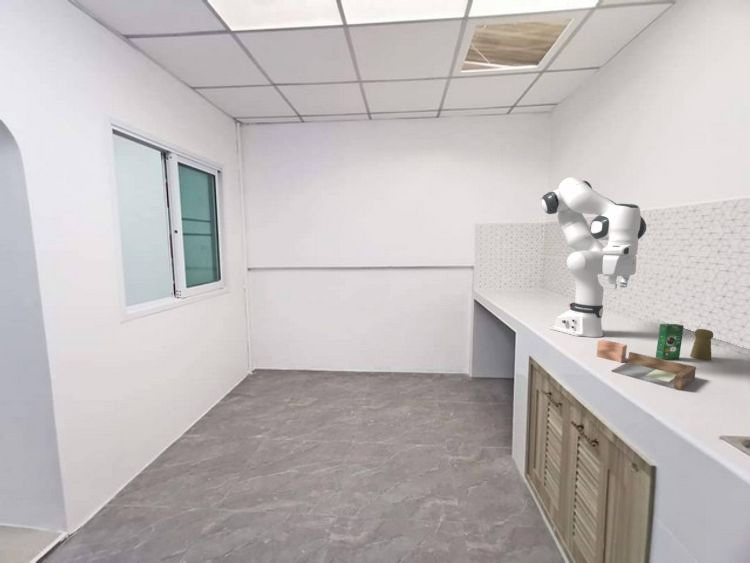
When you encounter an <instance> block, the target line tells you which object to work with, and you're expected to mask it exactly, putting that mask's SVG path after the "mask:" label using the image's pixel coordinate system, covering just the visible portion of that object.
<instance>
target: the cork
mask: <svg viewBox="0 0 750 563" xmlns="http://www.w3.org/2000/svg"><path fill="white" fill-rule="evenodd" d="M694 336H695V339H694V343H693V346H692V348H691V352H690V355H689V357H690V358H692V359H695V360H698V361H699V360H700V361H706V362H709V361H712V339H713V338H714V332H713V331H711V330H709V329H705V328H697V329H696V330H695V331H694Z"/></svg>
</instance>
